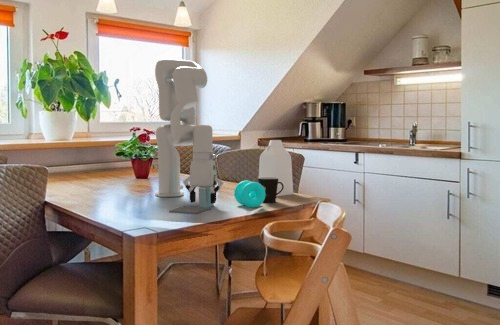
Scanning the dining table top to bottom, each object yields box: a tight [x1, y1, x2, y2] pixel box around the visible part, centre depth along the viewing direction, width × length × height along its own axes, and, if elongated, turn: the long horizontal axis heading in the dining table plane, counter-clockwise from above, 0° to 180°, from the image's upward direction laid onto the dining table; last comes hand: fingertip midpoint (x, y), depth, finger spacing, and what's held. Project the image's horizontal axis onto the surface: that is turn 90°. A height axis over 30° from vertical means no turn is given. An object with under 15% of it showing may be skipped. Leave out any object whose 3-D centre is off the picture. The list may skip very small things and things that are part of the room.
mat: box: [168, 205, 211, 215], centre depth 175 cm, size 12×11×1 cm
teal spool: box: [233, 179, 265, 209], centre depth 186 cm, size 10×10×10 cm
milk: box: [258, 139, 294, 197], centre depth 221 cm, size 12×12×26 cm
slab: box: [198, 187, 215, 208], centre depth 185 cm, size 7×3×8 cm, turn 159°
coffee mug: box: [257, 177, 284, 204], centre depth 198 cm, size 12×9×10 cm
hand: (202, 202), depth 183 cm, fingers open, 7 cm apart
